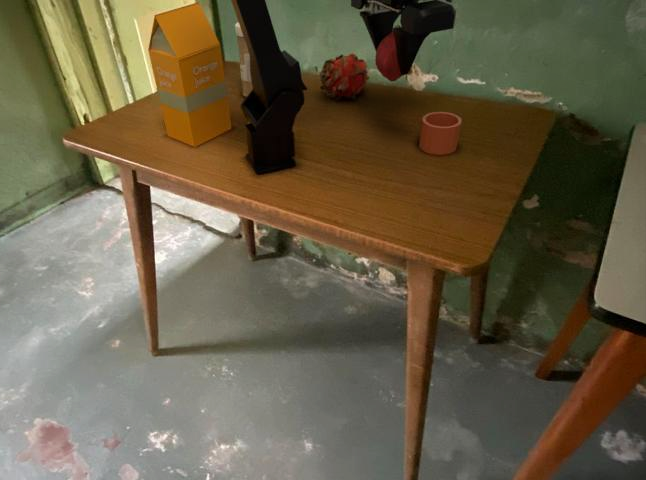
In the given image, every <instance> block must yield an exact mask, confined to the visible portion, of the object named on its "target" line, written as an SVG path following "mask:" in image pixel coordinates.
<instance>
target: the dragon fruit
mask: <svg viewBox="0 0 646 480" xmlns="http://www.w3.org/2000/svg"><path fill="white" fill-rule="evenodd" d="M367 68H368V65H367V62H366V61H365V60H364V59H363V58H359V57H358V56H357V55H356V54H355V53H349V54H348V55H347V56H346V55H344V54H340V55H338V56H335V58H329V59H327V60H325V61H324V64H323V65H322V70H321V71H320V73H319V79H320V81H321V86H319V89H320V90H321V91H323V92H326V96H327V97H330V98H334V100H336V101H338V100H340V99H341V98H342V97H345V98H346V99H351V100H354V99H355V98H356V95H360V93H361V91H362V90H363V88H364V87H365V86H366V83H367V81H368V80H369V79H370V77H369V76H368V71H367Z"/></svg>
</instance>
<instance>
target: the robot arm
mask: <svg viewBox="0 0 646 480" xmlns="http://www.w3.org/2000/svg"><path fill="white" fill-rule="evenodd" d="M230 2H231V4H232V8H233V10H234V13H235V16H236V20H237V22H239V25H240V28H241V30H242V33H243V36H244V39H245V42H246V45H247V48H248V51H249V55H250V74H251V80H252V86H253V89H252V91H251V92H250V93H249V95H248V96H247V97H245V98H244V100H243V101H242V103H241V104H240V106H239V107H240V109H241V111H242V113H243V115H244V117H245V118H246V119H247V120H248V122H249V123H246V124H244V127H245V138H246V146H247V153H245V158H246V160H247V161H248V164H249V165H250V166H251V168H252V169H253V171H254V172H255V173H256V174H257V175H263V174H266V173H271V172H275V171H279V170H280V171H281V170H284V169H288V168H293V167H296V165H297V162H296V160H295V159H294V158H295V156H296V152H295V132H294V131H293V127H294V124H295V121H296V117H297V115H298V113H299V112H300V111H301V109H302V107H303V106H304V105H305V93H304V91H307V90H308V87H307V86H306V85H305V83H304V81H303V77H302V71H301V65H300V61H298V59H296V58H295V57H294V56H292V55H291V54H290V53H289V52H288V51H287V50H285V49H283V50H281V48H280V45H279V41H278V38H277V35H276V32H275V28H274V25H273V22H272V19H271V14H270V12H269V8H268V6H267V1H266V0H230ZM452 2H453V0H445V1H441V0H422V1H421V2H420V0H350V7H352V8H354V9H357V10H361V11H359V17H361V19H362V21H363V23H364V26H365V27H366V31H367V33H368V34H369V38H370V39H371V42H372V45H373V47H374V50H375V52H376V51H377V48H378V46H379V44H380V42H381V41H382V40H383V39H384V38H385V37H386V36H388V35H389V34H390V33H392V31H393V33H394V40H395V45H396V51H397V57H398V63H399V68H400V73H401V75H403V76H406V75H408V74H409V73H410V71H411V69H412V66H413V65H414V63H415V59H416V58H417V56H418V53H419V51H420V49H421V47H422V45H423V43H424V41H425V39H426V38H428V37H429V35H430V34H432V33H437V32H442V31H447V30H453V29H454V28H455V23H456V17H457V11H456V9H455V8H454V6H453V5H452V4H451V3H452ZM363 8H364V9H363ZM399 17H400V19H399V20H400V21H399V23H400V26H401V27H397V28H394V25H395V23H396V21H397V20H398V18H399ZM412 64H413V65H412Z"/></svg>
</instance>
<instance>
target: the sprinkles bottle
mask: <svg viewBox="0 0 646 480" xmlns="http://www.w3.org/2000/svg"><path fill="white" fill-rule="evenodd" d="M234 30H235V35H236V38H237V46H238V60H239V70H240V71H239V72H240V79H241V85H242V95H243V97H245V98H246V97H247V96H248V95H249V93H250V92H251V91H252V89H253V86H252V80H251V74H250V55H249V51H248V48H247V45H246V42H245V39H244V36H243V33H242V30H241V28H240V25H239V22H238V21H237V22H236V23H235V25H234Z"/></svg>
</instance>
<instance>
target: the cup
mask: <svg viewBox="0 0 646 480" xmlns="http://www.w3.org/2000/svg"><path fill="white" fill-rule="evenodd" d="M462 122H463V121H462V118H461V116H459V115H457V114H455V113H452V112H448V111H447V112H446V111H433V112H428V113H426V114H424V115H423V117H422V118H421V125H420V133H419V140H418V148H419V149H420V150H421V151H422V152H424V153H427V154H430V155H435V156H444V155H445V156H446V155H449V154H450V155H451V154H452V153H454V152H455V151H456V150H457V147H458V143H459V137H460V133H461V128H462V124H463V123H462Z"/></svg>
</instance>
